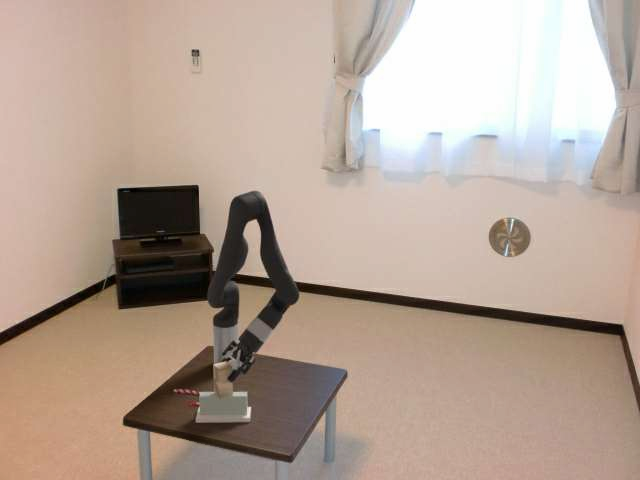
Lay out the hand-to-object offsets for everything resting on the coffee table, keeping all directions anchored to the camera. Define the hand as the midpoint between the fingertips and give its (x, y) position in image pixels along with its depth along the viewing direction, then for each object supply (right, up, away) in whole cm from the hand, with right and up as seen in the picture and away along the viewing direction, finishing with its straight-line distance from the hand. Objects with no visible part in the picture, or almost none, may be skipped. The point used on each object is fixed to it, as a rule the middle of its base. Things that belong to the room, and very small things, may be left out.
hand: (223, 375), depth 199 cm
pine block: (0, -6, +1) cm, 6 cm away
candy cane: (-14, -11, +16) cm, 24 cm away
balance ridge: (0, -14, +3) cm, 14 cm away
